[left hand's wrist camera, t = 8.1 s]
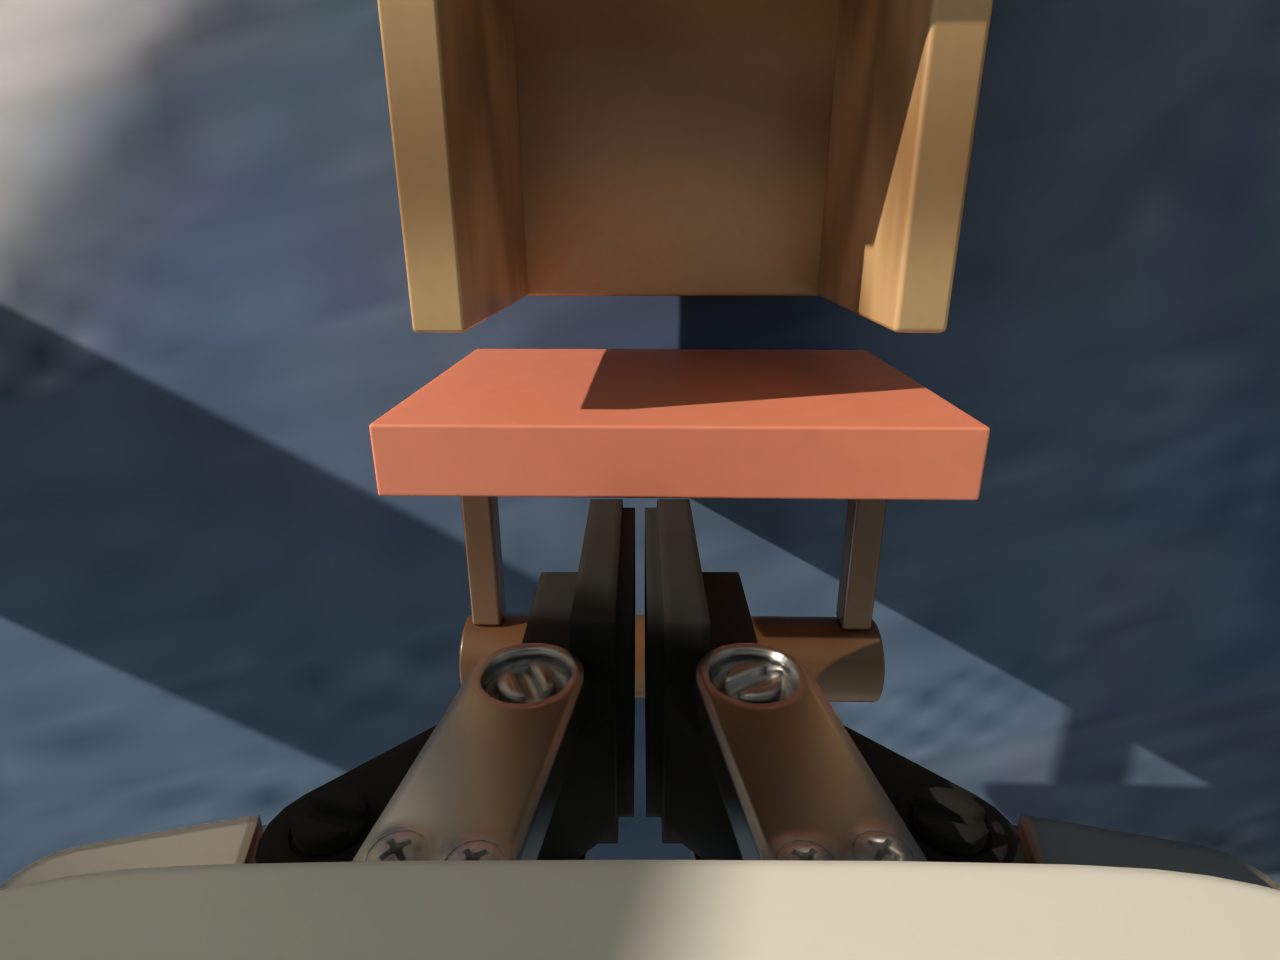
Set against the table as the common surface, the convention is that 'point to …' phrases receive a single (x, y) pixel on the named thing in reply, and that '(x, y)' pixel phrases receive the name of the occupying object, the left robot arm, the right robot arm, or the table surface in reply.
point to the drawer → (683, 265)
